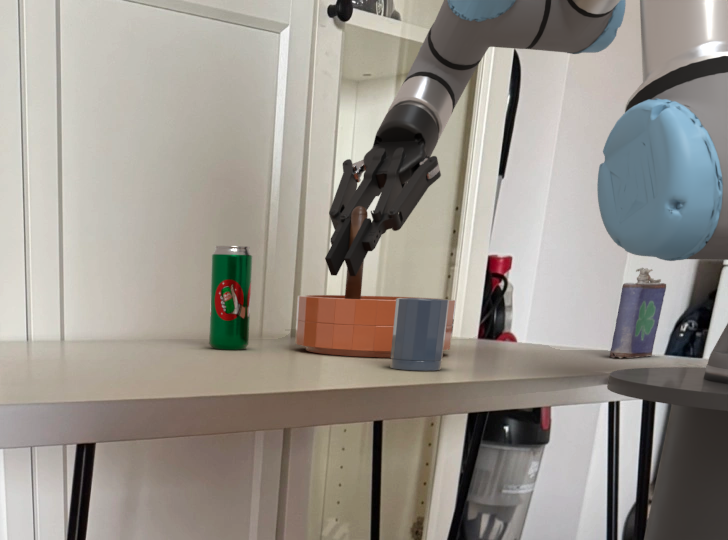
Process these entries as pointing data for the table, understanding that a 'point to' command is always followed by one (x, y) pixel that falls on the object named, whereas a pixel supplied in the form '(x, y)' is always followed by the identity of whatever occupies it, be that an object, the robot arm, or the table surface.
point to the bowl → (352, 325)
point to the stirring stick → (356, 221)
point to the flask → (638, 316)
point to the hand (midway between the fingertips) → (340, 266)
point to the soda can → (230, 297)
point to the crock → (419, 334)
